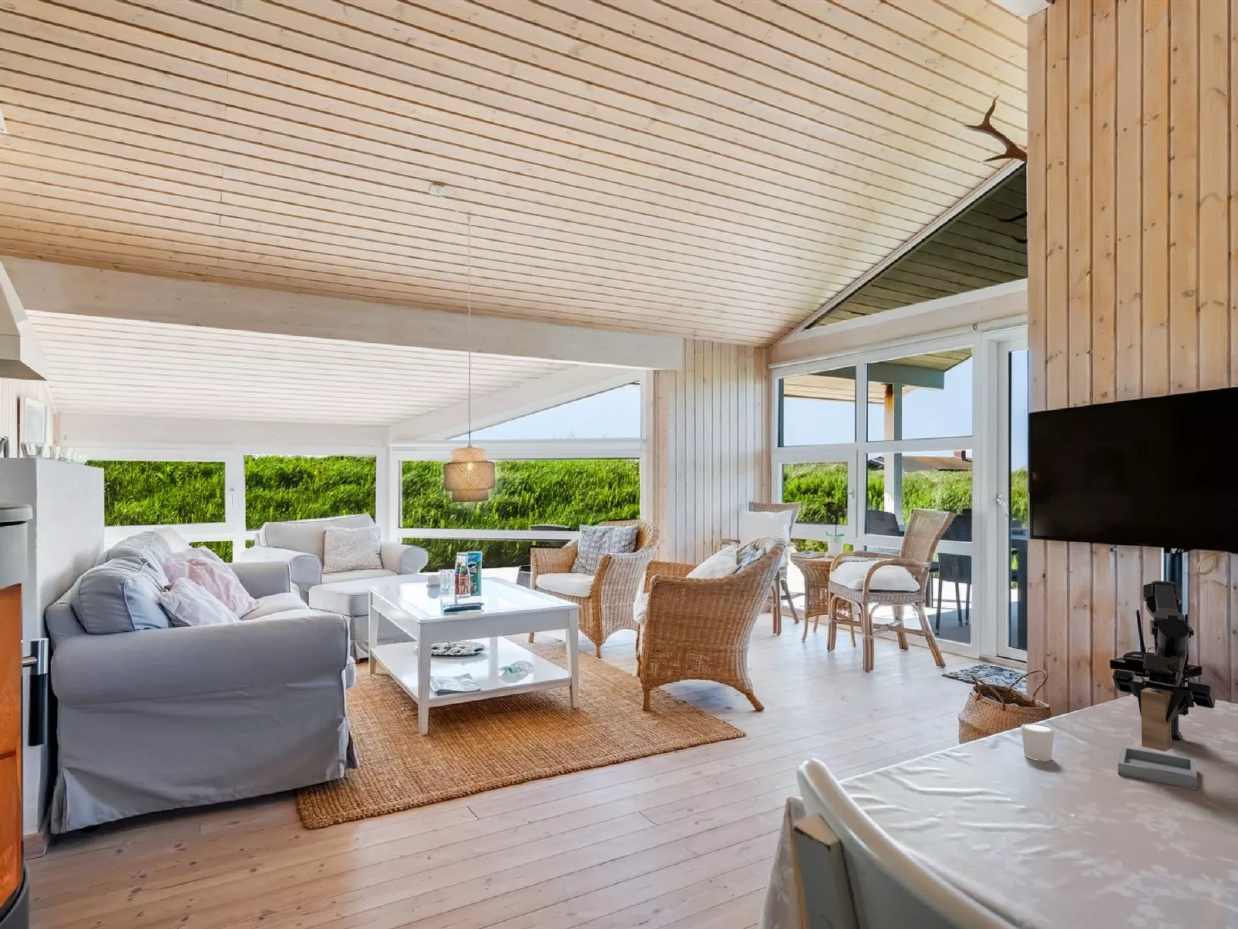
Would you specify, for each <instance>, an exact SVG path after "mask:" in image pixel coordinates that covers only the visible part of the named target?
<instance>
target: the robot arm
mask: <svg viewBox="0 0 1238 929" xmlns="http://www.w3.org/2000/svg"><path fill="white" fill-rule="evenodd" d="M1182 593H1183V592H1182V587H1181V586H1179V585H1176V582H1173V581H1170V580H1169V581H1165V580H1154V581H1151V582H1149V583H1147V584H1143V585H1142V602H1145V609H1146V611H1147V612H1148V613H1149V614H1150V617H1151V618H1152V619H1150V620H1149V633H1150V634H1149V635H1151V636H1152V635H1153V645H1154V646H1153V648H1154V650H1153V652H1154V653H1153V654H1149V653H1146V654H1144V658H1143V659H1144V660H1143V664H1142V665H1143V666H1142V668H1143V669H1145V673H1144V674H1145V677H1148V679H1146V678H1144V677H1142V676H1139V675H1138V676H1137V675H1136V672H1135V671H1132V670H1128V669H1127V670H1126V669H1120V668H1117V669H1115V670H1114V671H1113V673H1112V676H1111V678H1112V680H1113V682H1114V685H1115V687H1116V688H1117V690H1118V691H1119V692H1123V693H1128V694H1132V695H1133V697H1135V698H1137V701H1138V702H1137V703H1138V709H1139V714H1140V716H1141V691H1142V690H1144V689H1146V688H1152V689H1158V690H1163V691H1169V692H1171V703H1170V706H1169V709H1168V712H1167V716H1166V722H1168V723H1169V722H1170V721H1171V727H1172V740H1179V741H1181V740H1182V732H1181V731H1180V716H1185V717H1186V716H1187V715H1189V708H1191V709H1192V708H1195V705H1196V706H1197V707H1202V708H1207V709H1214V708H1215V706H1216V696H1215V693H1214V691H1213V687H1212V686H1211V685H1210V684H1209V683H1203V682H1197V681H1193V680H1191V681H1188V683H1187V684H1188V685H1187V686H1185V685H1183V682H1181V680H1182V679H1183V678H1184V673H1183V671H1184V667H1185V662H1186V659H1187V656H1188V652H1189V650H1188V644H1189V639H1191V638H1192V636H1195V631H1194V629H1193V628H1192V626H1190V623H1189V622H1188V623H1187V622H1186V617H1185V615H1184V614H1183V613H1181V612H1179V611H1178V610H1179V605H1181V604H1182V602H1183V596H1182Z"/></svg>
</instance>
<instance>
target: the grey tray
mask: <svg viewBox="0 0 1238 929" xmlns="http://www.w3.org/2000/svg"><path fill="white" fill-rule="evenodd" d="M1119 753H1120V754H1119V756H1118V757H1119V758H1118V761H1117V774H1118V775H1120V776H1121V775H1122V776H1127V777H1131V778H1136V779H1140V780H1147V781H1151V782H1156V783H1162V784H1166V785H1170V784H1173V785H1172V786H1175V785H1179V786H1178V787H1180V786H1184V787H1183V788H1186V787H1188V788H1187V789H1191V788H1195V789H1194V790H1196V789H1197V790H1198V776H1197V759H1195V758H1189V757H1184V756H1178V755H1172V754H1168V753H1167V754H1166V753H1161V752H1155V751H1149V750H1145V749H1144V750H1143V749H1140V748H1133V747H1128V746H1123V745H1122V746H1121V749H1120V752H1119Z"/></svg>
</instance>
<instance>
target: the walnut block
mask: <svg viewBox="0 0 1238 929" xmlns="http://www.w3.org/2000/svg"><path fill="white" fill-rule="evenodd" d="M1170 703H1171V692H1169V691H1163V690H1158V689H1152V688H1146V689H1144V690H1142V691H1141V715H1140V717H1141V718H1140V720H1141V721H1140V722H1141V724H1140V726H1141V728H1140V729H1141V747H1143V748H1148V749H1151V750H1156V751H1160V752H1165V753H1166V752H1168V751H1169V750H1171V749H1172V748H1173V745H1172V744H1173V742H1172V740H1173V739H1172V727H1171V721H1170V722H1169V723H1168V722H1166V716H1167V712H1168V709H1169V706H1170Z"/></svg>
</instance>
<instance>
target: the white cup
mask: <svg viewBox="0 0 1238 929" xmlns="http://www.w3.org/2000/svg"><path fill="white" fill-rule="evenodd" d="M1020 728H1021V736H1022V744H1023V753H1024V754H1025V755H1026V756H1028V757H1031V758H1033V759H1037V760H1042V761H1041V762H1050V761H1049V760H1051V761H1052V759H1053V756H1052V755H1053V747H1054V736H1055V729H1054V728H1052V727H1050V726H1047V725H1043V724H1038V723H1022V724H1021V725H1020ZM1025 755H1024V756H1025Z"/></svg>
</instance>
